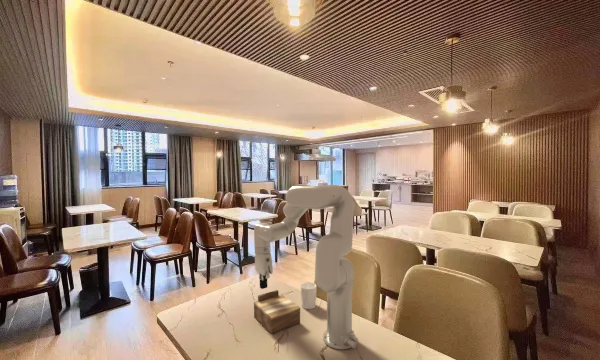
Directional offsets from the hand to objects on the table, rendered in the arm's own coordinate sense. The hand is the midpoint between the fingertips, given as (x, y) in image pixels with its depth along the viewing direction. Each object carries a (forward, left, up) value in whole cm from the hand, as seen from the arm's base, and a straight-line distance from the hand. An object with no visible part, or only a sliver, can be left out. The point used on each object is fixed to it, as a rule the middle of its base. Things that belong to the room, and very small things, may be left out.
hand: (263, 287), depth 128 cm
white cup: (-10, -19, -10) cm, 24 cm away
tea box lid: (-12, 0, -4) cm, 13 cm away
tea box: (-12, 0, -10) cm, 16 cm away
